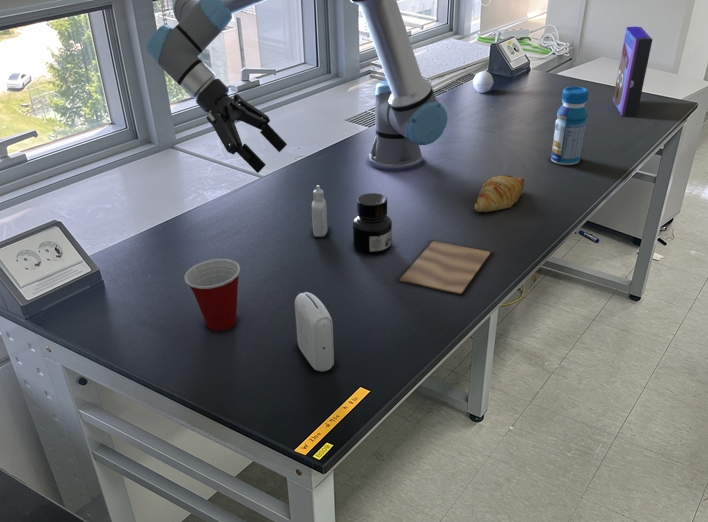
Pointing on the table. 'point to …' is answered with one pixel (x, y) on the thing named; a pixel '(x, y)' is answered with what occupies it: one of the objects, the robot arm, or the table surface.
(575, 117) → the beverage bottle
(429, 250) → the wooden board
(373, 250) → the ink bottle
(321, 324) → the photo printer
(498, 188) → the croissant
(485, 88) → the white ovoid
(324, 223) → the eye dropper bottle
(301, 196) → the table surface
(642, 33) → the cereal box
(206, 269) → the plastic cup
